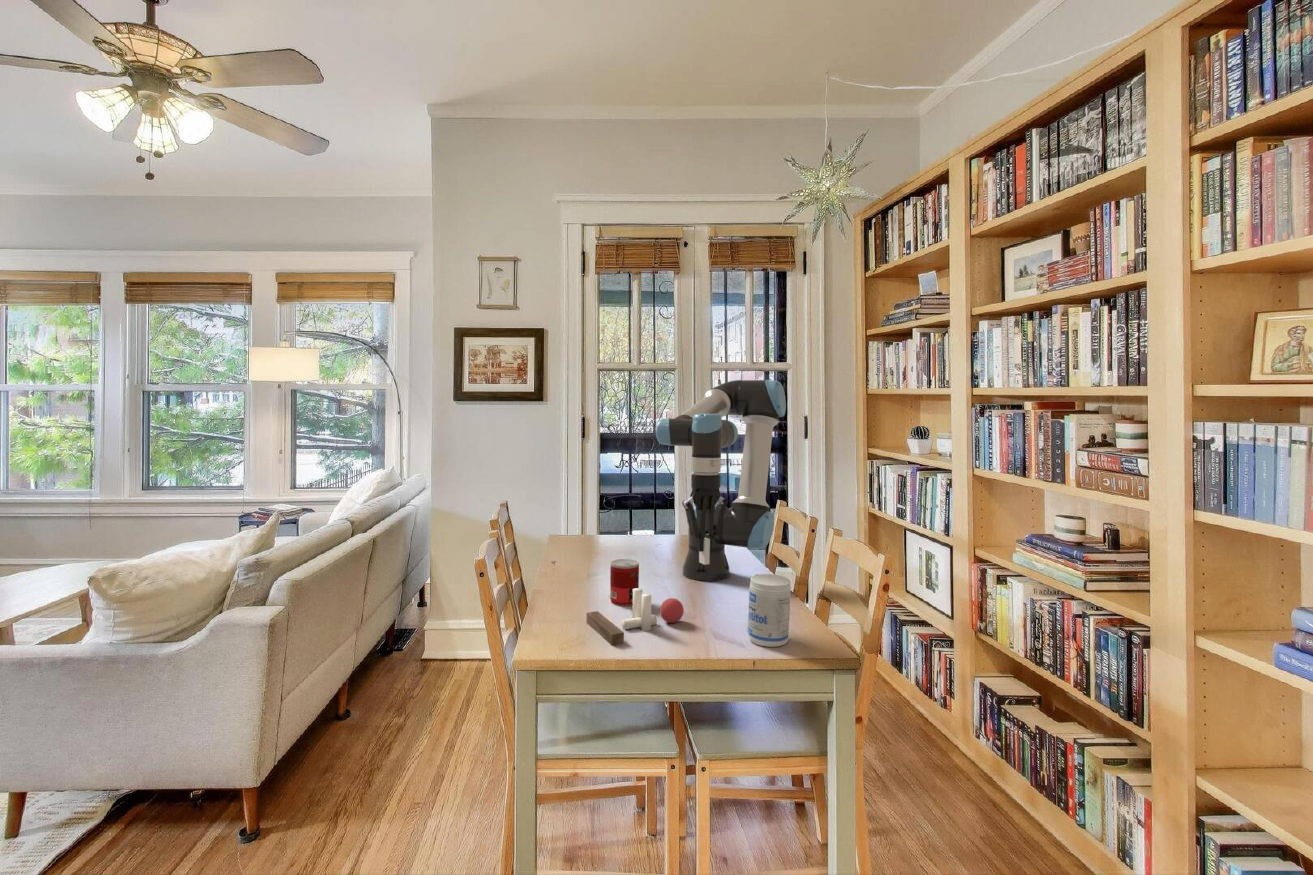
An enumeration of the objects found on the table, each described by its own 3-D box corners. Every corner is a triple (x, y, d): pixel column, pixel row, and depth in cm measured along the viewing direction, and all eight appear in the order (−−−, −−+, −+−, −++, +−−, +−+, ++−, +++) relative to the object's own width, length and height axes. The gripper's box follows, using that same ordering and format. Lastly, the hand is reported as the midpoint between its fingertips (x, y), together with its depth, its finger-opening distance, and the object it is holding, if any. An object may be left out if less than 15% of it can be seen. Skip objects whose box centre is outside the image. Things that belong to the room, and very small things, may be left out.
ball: (651, 608, 158) (664, 621, 161) (663, 617, 153) (677, 631, 156) (666, 590, 160) (679, 603, 162) (679, 598, 155) (692, 612, 157)
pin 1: (639, 620, 159) (639, 587, 158) (643, 623, 156) (644, 590, 156) (630, 621, 157) (631, 588, 157) (634, 624, 155) (635, 591, 155)
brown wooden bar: (597, 620, 158) (597, 611, 158) (623, 643, 144) (623, 632, 144) (586, 622, 156) (586, 612, 156) (611, 645, 142) (612, 634, 142)
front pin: (652, 613, 157) (622, 618, 153) (657, 616, 155) (626, 622, 151) (652, 622, 157) (621, 627, 154) (656, 626, 155) (625, 631, 151)
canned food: (635, 606, 169) (635, 567, 168) (606, 604, 170) (607, 565, 170) (641, 598, 176) (641, 559, 176) (614, 595, 178) (614, 558, 177)
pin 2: (648, 626, 154) (648, 593, 154) (652, 630, 152) (653, 596, 151) (639, 628, 153) (639, 594, 152) (643, 631, 151) (644, 597, 150)
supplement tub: (739, 640, 146) (741, 579, 145) (760, 629, 154) (762, 571, 153) (776, 652, 140) (778, 587, 139) (796, 639, 147) (798, 578, 146)
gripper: (691, 476, 154) (690, 569, 156) (735, 473, 160) (733, 563, 162) (676, 472, 161) (675, 562, 162) (719, 470, 167) (717, 557, 169)
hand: (704, 563), depth 162 cm, fingers closed
